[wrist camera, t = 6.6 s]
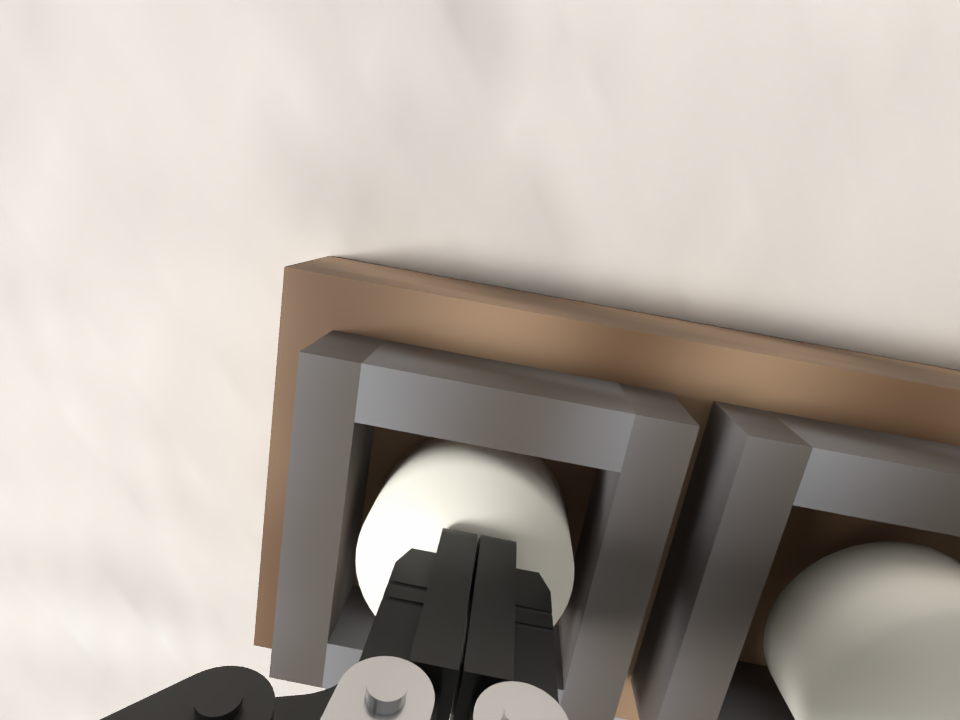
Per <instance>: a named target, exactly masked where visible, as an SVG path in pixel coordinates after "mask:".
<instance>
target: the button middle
mask: <svg viewBox="0 0 960 720" xmlns="http://www.w3.org/2000/svg"><path fill="white" fill-rule="evenodd" d="M763 641H764V654H765V659H766V663H767V666H768V669H769V671H770V674H771V676H772V677H773V679H774V681H775V683H776V685H777V687H778V689H779V691H780V692H781V694H782V696H783V698H784V700H785V702H786V704H787V705H788V707H789V709H790V711H791V713H792V715H793V717H794V719H795V720H960V562H958V561H957V560H956V559H954V558H952V557H950V556H949V555H947V554H945V553H943V552H941V551H938V550H935V549H933V548H930V547H927V546H923V545H919V544H914V543H907V542H889V541H884V542H873V543H866V544H861V545H856V546H852V547H849V548H846V549H842V550H839V551H837V552H835V553H832V554H830V555H828V556H825V557H823V558H822V559H820V560H818V561H817V562H815V563H813V564H811V565H810V566H809V567H807V568H806V569H805V570H803V571H802V572H800V573H799V574H798V575H797V576H796V577H795V578H794V579H793V580H792V581H791V582H790V583H789V584H788V585H787V586H786V587H785V589H784V590H783V591H782V592H781V593H780V595H779V596H778V598H777V600H776V601H775V603H774V604H773V607H772V609H771V611H770V613H769V616H768V619H767V622H766V626H765V631H764V639H763Z"/></svg>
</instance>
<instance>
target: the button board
mask: <svg viewBox="0 0 960 720" xmlns="http://www.w3.org/2000/svg"><path fill="white" fill-rule="evenodd" d="M431 437H435V438H440V439H445V440H451V441H456V442H461V443H466V444H472V445H477V446H482V447H488V448H493V449H498V450H503V451H509V452H514V453H519V454H525V455H530V456H535V457H539V458H540V459H541V460H542V461H543V462H544V463H545V464H546V465H547V466H548V468H549V469H550V470H551V471H552V473H553V475H554V476H555V478H556V479H557V481H558V483H559V486H560V488H561V490H562V493H563V496H564V500H565V504H566V511H567V518H568V525H569V531H570V538H571V545H572V552H573V559H574V582H573V588H572V593H571V596H570V599H569V602H568V604H567V606H566V608H565V610H564V612H563V614H562V615H561V617H560V618H559V620H558V621H557V623H556V624H555V625H554V626H553V633H554V645H555V659H556V673H557V688H558V700H559V705H560V706H561V707H562V709H563V710H564V712H565V713H566V715H567V718H568V720H614V718H615V717H616V718H621V719H626V720H795V719H794V717H793V715H792V713H791V711H790V709H789V707H788V705H787V704H786V702H785V700H784V698H783V696H782V694H781V692H780V691H779V689H778V687H777V685H776V683H775V681H774V679H773V677H772V676H771V674H770V671H769V669H768V666H767V663H766V659H765V654H764V641H763V639H764V631H765V626H766V622H767V619H768V616H769V613H770V611H771V609H772V607H773V604H774V603H775V601H776V600H777V598H778V596H779V595H780V593H781V592H782V591H783V590H784V589H785V587H786V586H787V585H788V584H789V583H790V582H791V581H792V580H793V579H794V578H795V577H796V576H797V575H798V574H799V573H800V572H802V571H803V570H805V569H806V568H807V567H809V566H810V565H811V564H813V563H815V562H817V561H818V560H820V559H822V558H823V557H825V556H828V555H830V554H832V553H835V552H837V551H839V550H842V549H846V548H849V547H852V546H856V545H861V544H866V543H873V542H884V541H889V542H907V543H914V544H919V545H923V546H927V547H930V548H933V549H935V550H938V551H941V552H943V553H945V554H947V555H949V556H950V557H952V558H954V559H956V560H957V561H958V562H960V371H958V370H953V369H947V368H942V367H936V366H931V365H925V364H920V363H914V362H909V361H903V360H898V359H892V358H887V357H881V356H876V355H870V354H865V353H859V352H854V351H848V350H843V349H837V348H832V347H826V346H821V345H815V344H810V343H804V342H799V341H793V340H788V339H782V338H777V337H772V336H766V335H761V334H755V333H750V332H744V331H739V330H733V329H728V328H722V327H717V326H711V325H706V324H700V323H695V322H689V321H684V320H678V319H673V318H667V317H662V316H656V315H651V314H645V313H640V312H634V311H629V310H623V309H618V308H612V307H607V306H601V305H596V304H590V303H585V302H579V301H574V300H568V299H563V298H557V297H552V296H546V295H541V294H535V293H530V292H524V291H519V290H513V289H508V288H502V287H497V286H491V285H486V284H480V283H475V282H469V281H464V280H458V279H453V278H447V277H442V276H436V275H431V274H425V273H420V272H414V271H409V270H403V269H398V268H392V267H387V266H382V265H376V264H371V263H365V262H360V261H354V260H349V259H343V258H338V257H332V256H327V257H323V258H319V259H315V260H311V261H307V262H303V263H298V264H294V265H290V266H286V267H285V268H284V280H283V293H282V305H281V317H280V329H279V342H278V354H277V366H276V379H275V391H274V403H273V416H272V428H271V440H270V453H269V465H268V477H267V490H266V502H265V514H264V527H263V539H262V551H261V564H260V576H259V588H258V600H257V613H256V625H255V637H254V645H256V646H261V647H266V648H271V649H272V654H271V665H270V676H269V677H272V678H276V679H281V680H286V681H291V682H296V683H301V684H306V685H311V686H316V687H321V688H326V689H328V688H331V687H333V686H335V685H336V684H338V683H339V681H340V679H341V678H342V676H343V675H344V674H345V672H346V671H347V670H348V669H350V668H351V667H352V666H353V665H355V664H357V663H358V662H359V660H360V657H361V655H362V652H363V649H364V646H365V644H366V641H367V638H368V636H369V633H370V630H371V627H372V625H373V622H374V619H375V617H376V616H375V615H374V613H373V612H372V611H371V609H370V608H369V606H368V604H367V602H366V600H365V599H364V596H363V594H362V591H361V589H360V586H359V582H358V578H357V573H356V562H355V561H356V547H357V543H358V538H359V535H360V532H361V529H362V527H363V524H364V522H365V520H366V518H367V516H368V514H369V512H370V510H371V508H372V506H373V504H374V502H375V500H376V498H377V496H378V494H379V492H380V490H381V488H382V486H383V484H384V483H385V481H386V479H387V477H388V475H389V473H390V471H391V470H392V468H393V467H394V466H395V464H396V463H397V462H398V460H399V459H400V458H401V457H402V456H403V455H404V454H405V453H406V452H408V451H409V450H410V449H412V448H413V447H414V446H416V445H417V444H419V443H421V442H423V441H424V440H426V439H429V438H431ZM451 709H452V707H451Z"/></svg>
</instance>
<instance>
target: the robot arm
mask: <svg viewBox="0 0 960 720" xmlns="http://www.w3.org/2000/svg"><path fill="white" fill-rule="evenodd" d="M477 539H478V534H473V533H468V532H463V531H458V530H452V529H447V528H443V529H442V533H441V537H440V541H439V545H438V549H437V552H436V553H434V552H429V551H424V550H419V549H414V548H411V549H410V550H409V551H408V552H407V553H405V554H404V555H403V556H402V557H401V558H399V559H398V560H397V561H396V562H395V565H394V568H393V570H392V573H391V576H390V578H389V582H388V584H387V587H386V589H385V592H384V595H383V599H382V600H381V603H380V606H379V608H378V611H377V614H376V617H375V619H374V622H373V625H372V627H371V630H370V633H369V636H368V638H367V641H366V644H365V646H364V649H363V652H362V655H361V657H360V660H359V662H358V663H357V664H355V665H353V666H352V667H351V668H350V669H348V670H347V671H346V672H345V674H344V675H343V676H342V678H341V679H340V681H339V683H338V684H336V685H335V686H333V687H331V688H328V689H326V690H323V691H320V692H316V693H312V694H305V695H295V696H284V697H275V694H274V691H273V688H272V686H271V684H270V683H269V681H268V680H267V679H266V678H265V677H264V676H263V675H261V674H260V673H258V672H256V671H254V670H252V669H249V668H245V667H239V666H222V667H216V668H212V669H208V670H205V671H202V672H200V673H197V674H195V675H193V676H191V677H189V678H187V679H185V680H182V681H180V682H178V683H176V684H174V685H172V686H170V687H168V688H166V689H164V690H161V691H159V692H157V693H155V694H153V695H151V696H149V697H147V698H145V699H143V700H140V701H138V702H136V703H134V704H132V705H130V706H128V707H126V708H124V709H122V710H119V711H117V712H115V713H113V714H111V715H109V716H107V717H105V718H103V719H100V720H449V718H450V720H568V718H567V715H566V713H565V712H564V710H563V709H562V707H561V706H560V705H559V700H558V688H557V673H556V659H555V645H554V633H553V617H552V602H551V591H550V590H549V588H548V587H547V585H546V583H545V582H544V580H543V578H542V577H541V575H540V573H538V572H533V571H528V570H523V569H518V568H516V551H517V543H516V542H515V541H510V540H505V539H500V538H495V537H489V536H484V535H481V537H480V542H479V547H478V552H477V557H476V563H475V568H474V573H473V567H474V560H475V553H476V546H477ZM472 574H473V578H472ZM471 581H472V583H471ZM470 588H471V589H470ZM451 707H452V709H451ZM450 713H451V716H450Z"/></svg>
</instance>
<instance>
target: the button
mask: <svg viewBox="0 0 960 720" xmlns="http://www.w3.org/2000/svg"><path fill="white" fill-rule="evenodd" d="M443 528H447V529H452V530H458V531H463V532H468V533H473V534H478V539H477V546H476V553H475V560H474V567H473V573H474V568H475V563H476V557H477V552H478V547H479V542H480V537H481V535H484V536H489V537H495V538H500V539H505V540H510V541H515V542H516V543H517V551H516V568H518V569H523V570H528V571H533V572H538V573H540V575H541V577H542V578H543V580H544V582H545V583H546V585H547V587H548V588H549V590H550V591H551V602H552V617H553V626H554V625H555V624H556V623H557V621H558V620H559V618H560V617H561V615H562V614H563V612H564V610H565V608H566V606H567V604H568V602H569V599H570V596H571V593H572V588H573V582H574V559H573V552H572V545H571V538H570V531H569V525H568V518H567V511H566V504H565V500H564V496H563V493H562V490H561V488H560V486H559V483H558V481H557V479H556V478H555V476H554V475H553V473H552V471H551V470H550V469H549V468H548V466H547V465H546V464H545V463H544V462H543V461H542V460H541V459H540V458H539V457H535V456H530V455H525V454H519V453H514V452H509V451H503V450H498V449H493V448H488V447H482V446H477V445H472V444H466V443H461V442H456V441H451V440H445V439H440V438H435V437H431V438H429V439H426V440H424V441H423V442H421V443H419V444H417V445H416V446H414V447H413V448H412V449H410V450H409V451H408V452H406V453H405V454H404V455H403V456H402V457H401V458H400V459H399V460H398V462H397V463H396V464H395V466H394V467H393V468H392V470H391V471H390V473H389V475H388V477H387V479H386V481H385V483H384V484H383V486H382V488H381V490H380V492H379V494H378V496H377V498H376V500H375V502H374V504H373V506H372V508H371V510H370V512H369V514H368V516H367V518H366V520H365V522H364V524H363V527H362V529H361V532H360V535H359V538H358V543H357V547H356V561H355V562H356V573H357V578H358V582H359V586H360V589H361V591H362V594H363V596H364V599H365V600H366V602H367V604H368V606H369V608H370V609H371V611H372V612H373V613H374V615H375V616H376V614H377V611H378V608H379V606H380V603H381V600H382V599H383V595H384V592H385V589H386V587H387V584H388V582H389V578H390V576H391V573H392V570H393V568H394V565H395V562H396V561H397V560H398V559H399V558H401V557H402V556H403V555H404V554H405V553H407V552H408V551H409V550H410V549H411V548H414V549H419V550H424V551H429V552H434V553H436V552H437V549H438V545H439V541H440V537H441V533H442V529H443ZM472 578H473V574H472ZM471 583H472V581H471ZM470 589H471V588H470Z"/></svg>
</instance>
